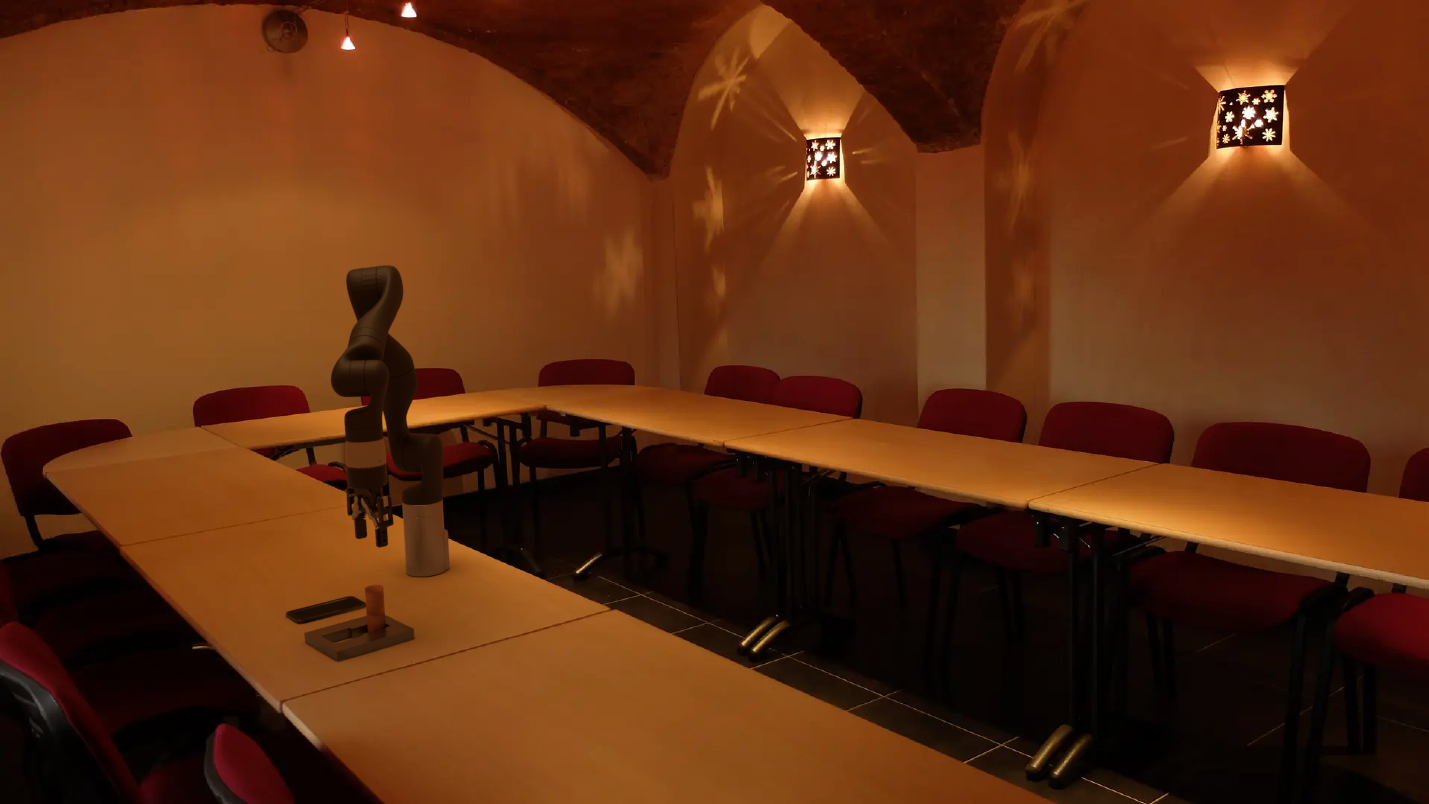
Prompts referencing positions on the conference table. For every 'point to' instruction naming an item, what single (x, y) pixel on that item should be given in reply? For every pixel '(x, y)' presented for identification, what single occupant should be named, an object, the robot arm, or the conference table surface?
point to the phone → (325, 609)
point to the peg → (375, 607)
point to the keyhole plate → (359, 645)
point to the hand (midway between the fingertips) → (371, 542)
